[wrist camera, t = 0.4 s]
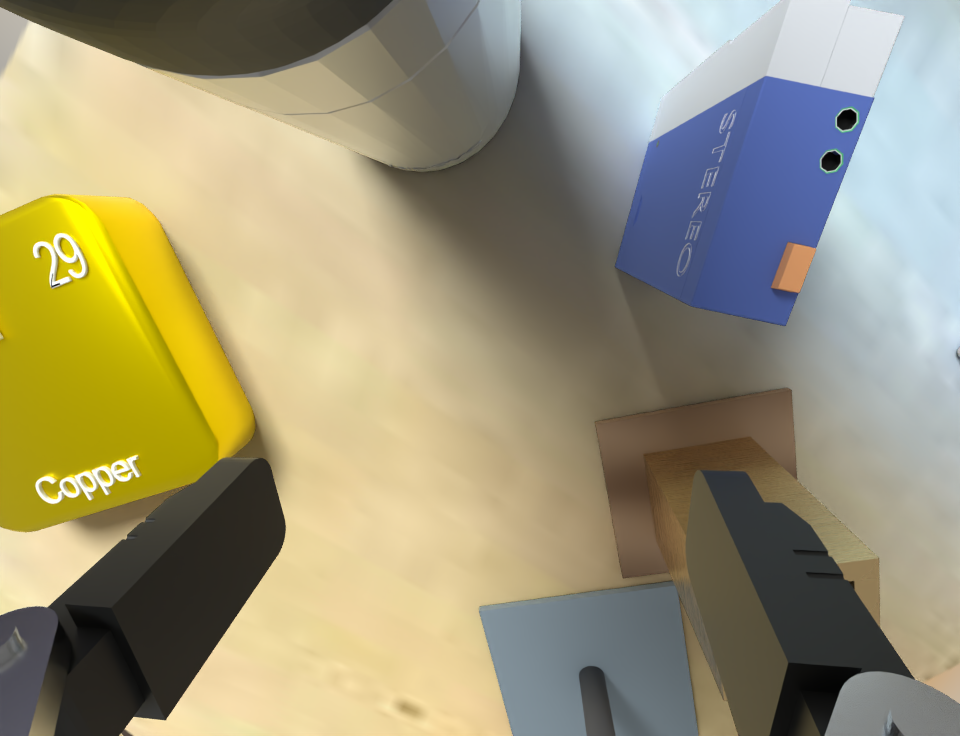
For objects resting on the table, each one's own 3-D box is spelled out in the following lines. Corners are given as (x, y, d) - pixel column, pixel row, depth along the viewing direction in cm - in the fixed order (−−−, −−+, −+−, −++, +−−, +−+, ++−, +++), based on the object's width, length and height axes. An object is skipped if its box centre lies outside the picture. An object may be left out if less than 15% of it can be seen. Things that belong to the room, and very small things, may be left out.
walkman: (668, 278, 25) (794, 329, 14) (614, 266, 25) (693, 308, 14) (721, 107, 23) (926, -5, 11) (661, 94, 23) (805, -29, 11)
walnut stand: (595, 421, 28) (652, 575, 16) (787, 387, 26) (1009, 528, 14) (621, 573, 30) (688, 804, 18) (797, 549, 29) (992, 781, 17)
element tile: (67, 501, 32) (-8, 548, 28) (-74, 278, 29) (-188, 290, 24) (271, 437, 30) (226, 478, 25) (146, 184, 26) (67, 177, 22)
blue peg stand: (479, 606, 32) (468, 714, 25) (674, 580, 30) (721, 688, 23) (517, 748, 35) (517, 878, 28) (696, 731, 33) (743, 865, 26)
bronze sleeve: (643, 454, 27) (709, 580, 18) (750, 436, 27) (879, 558, 17) (656, 541, 29) (723, 700, 19) (758, 526, 28) (880, 685, 19)
